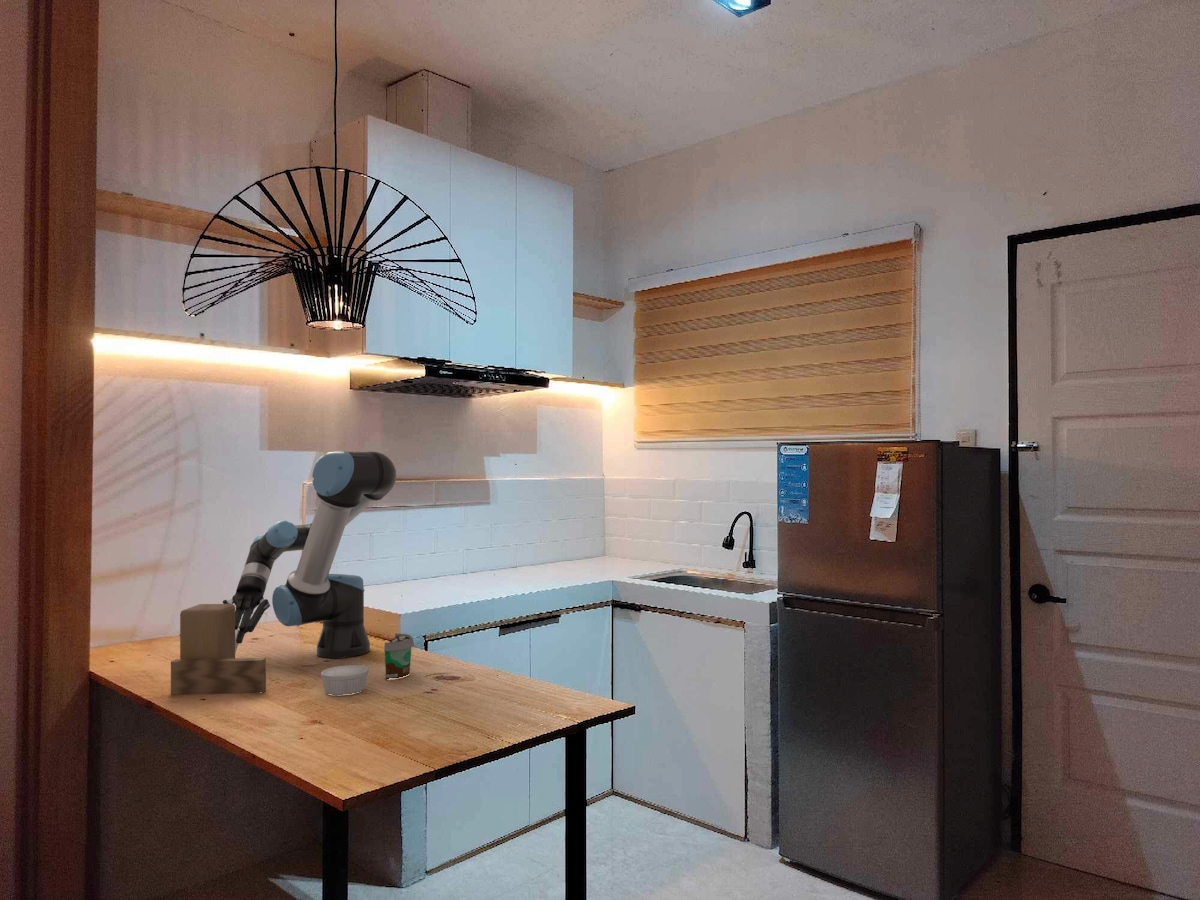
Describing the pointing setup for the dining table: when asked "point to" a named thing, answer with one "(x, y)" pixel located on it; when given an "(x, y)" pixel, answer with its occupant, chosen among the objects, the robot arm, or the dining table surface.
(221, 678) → the board
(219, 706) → the dining table surface
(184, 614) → the block
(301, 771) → the dining table surface
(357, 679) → the ramekin
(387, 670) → the food container
